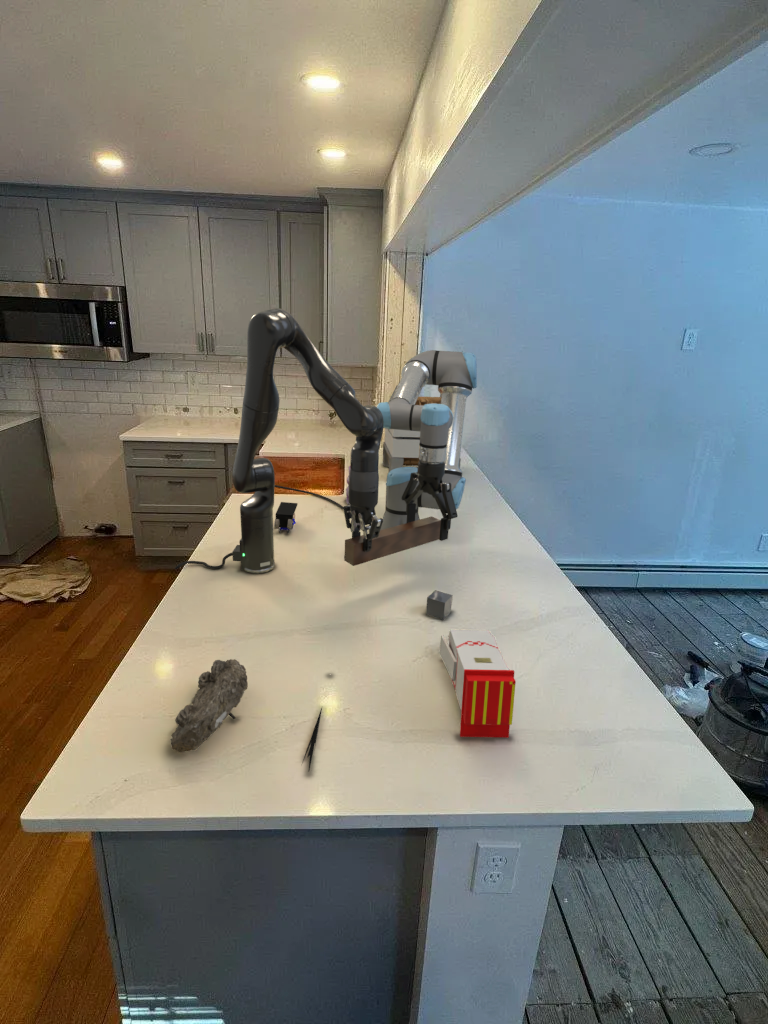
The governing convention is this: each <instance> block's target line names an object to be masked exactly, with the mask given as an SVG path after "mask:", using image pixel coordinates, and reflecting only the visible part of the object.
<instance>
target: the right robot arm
mask: <svg viewBox="0 0 768 1024" xmlns="http://www.w3.org/2000/svg"><path fill="white" fill-rule="evenodd" d="M477 366H478V365H477V357H476V354H474V353H473V352H467V351H463V350H462V351H454V350H453V351H451V350H436V349H429V350H425V351H421V352H419V353H417V354H416V355H414V356H413V357H411V358H410V359H408V360H407V361H406V363H405V364H404V366H403V367H402V370H401V372H400V373H401V377H400V380H399V382H398V384H397V385H398V386H397V385H396V386H397V388H396V387H395V388H396V390H395V389H394V390H395V392H394V391H393V392H394V394H393V393H392V394H393V395H392V394H391V396H392V397H391V396H390V398H391V399H390V398H389V400H390V401H389V400H388V401H383V402H381V401H380V402H379V403H377V406H376V407H377V408H378V409H379V410H380V411H381V413H382V415H383V421H384V425H383V429H385V428H386V429H397V430H410V431H420V443H419V459H420V460H419V462H418V466H417V467H416V466H403V467H401V468H396V469H393V470H391V471H390V472H389V471H388V473H387V475H386V482H385V504H384V505H385V507H384V508H385V509H384V513H383V515H382V519H383V523H382V526H381V530H383V529H387V528H391V527H394V526H398V525H402V524H405V523H409V522H413V521H416V520H420V519H421V518H420V515H419V508H422V509H430V510H431V509H433V510H439V511H440V514H441V516H442V518H440V520H441V525H440V537H439V540H438V541H439V542H442V541H443V542H444V541H446V540H448V539H449V532H450V531H449V530H451V526H452V520H453V519H456V518H458V517H459V515H458V511H457V510H458V509H459V508H460V505H461V502H462V499H463V495H464V493H465V492H464V491H465V486H466V481H467V479H466V478H465V476H463V471H462V470H461V468H460V469H459V467H458V466H459V458H461V454H460V449H461V450H462V443H461V441H462V440H463V439H462V438H463V431H464V424H465V423H464V422H465V416H466V415H465V414H466V406H467V399H468V397H469V396H470V395H472V393H473V389H476V388H477V387H478V376H477V375H478V369H477V368H478V367H477ZM427 385H429V386H437V391H438V393H439V395H440V394H441V395H442V396H441V404H425V405H415V403H416V401H417V399H418V397H420V395H421V392H422V389H423V388H424V387H426V386H427ZM388 402H389V403H388ZM275 488H278V489H282V490H287V491H292V492H298V493H303V494H307V495H311V496H314V497H318V498H321V499H324V500H326V501H328V502H331V503H333V504H334V505H336V506H337V507H338V508H341V510H343V511H344V509H343V507H344V506H343V505H342V504H340V503H338V502H336V501H335V500H333V499H331V498H329V497H327V496H324V495H323V494H322V495H321V494H318V493H315V492H312V491H307V490H303V489H298V488H292V487H287V486H283V485H278V484H275Z"/></svg>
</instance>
